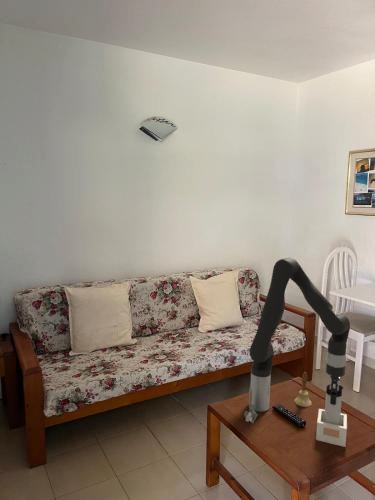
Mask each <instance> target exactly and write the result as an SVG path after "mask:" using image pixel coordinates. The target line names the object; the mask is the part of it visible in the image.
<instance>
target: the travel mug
mask: <svg viewBox="0 0 375 500" xmlns="http://www.w3.org/2000/svg"><path fill="white" fill-rule="evenodd" d="M335 388H336V387H335ZM343 390H344V386H343V385H340V384H339V390H338V391H337V398H336V405H332V404H330V399H331V396H330V394H331V390H330V383H329V384H327V385H326V390H325V401H324V410H325V414H324V422H325V423H329V424H334V425H338V426H340V414H341V413H342V412H341V411H342V410H341V409H342V398H343V397H342V396H343ZM332 393H335V392H332ZM335 394H336V393H335Z"/></svg>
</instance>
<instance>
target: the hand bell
mask: <svg viewBox="0 0 375 500" xmlns="http://www.w3.org/2000/svg"><path fill="white" fill-rule="evenodd" d="M301 382H302V385H301V386H302V387H301V390H299V391H298V393H297V394H298V395H297V397H296V398H294V400H293V401H294V403H295V404H296V405H297V406H300V407H304V408H308V407H311V406H312V405H313V404H312V401H311V400H310V397H309V392H308V391H306V388H307V387H306V386H307V382H308V374H307V372H306V371H304V372H303V374H302V377H301Z"/></svg>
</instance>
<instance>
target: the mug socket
mask: <svg viewBox="0 0 375 500" xmlns="http://www.w3.org/2000/svg"><path fill="white" fill-rule="evenodd" d="M317 413H318V415H317V421H316V434H315V440H316V441H319V442H323V443H328V444H332V445H335V446H339V447H344V448H346V444H347V430H348V420H347V418H348V416H347V415H348V414H346V413H342V412H341V414H340V426H338V425H334V424H329V423H325V422H324V414H325V409H324V408H318V412H317Z"/></svg>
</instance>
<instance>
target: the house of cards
mask: <svg viewBox="0 0 375 500" xmlns="http://www.w3.org/2000/svg"><path fill="white" fill-rule="evenodd" d="M253 407H254V406H253V404H250V408H249V411H245V410H244V414H243V415H244V418H245V422H246V421H247V423H250V422H251V424H254V422H255V420H256V418H257V417H258V416H259V414H258V413H257V411H256V410H254V409H253ZM249 421H250V422H249Z"/></svg>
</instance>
